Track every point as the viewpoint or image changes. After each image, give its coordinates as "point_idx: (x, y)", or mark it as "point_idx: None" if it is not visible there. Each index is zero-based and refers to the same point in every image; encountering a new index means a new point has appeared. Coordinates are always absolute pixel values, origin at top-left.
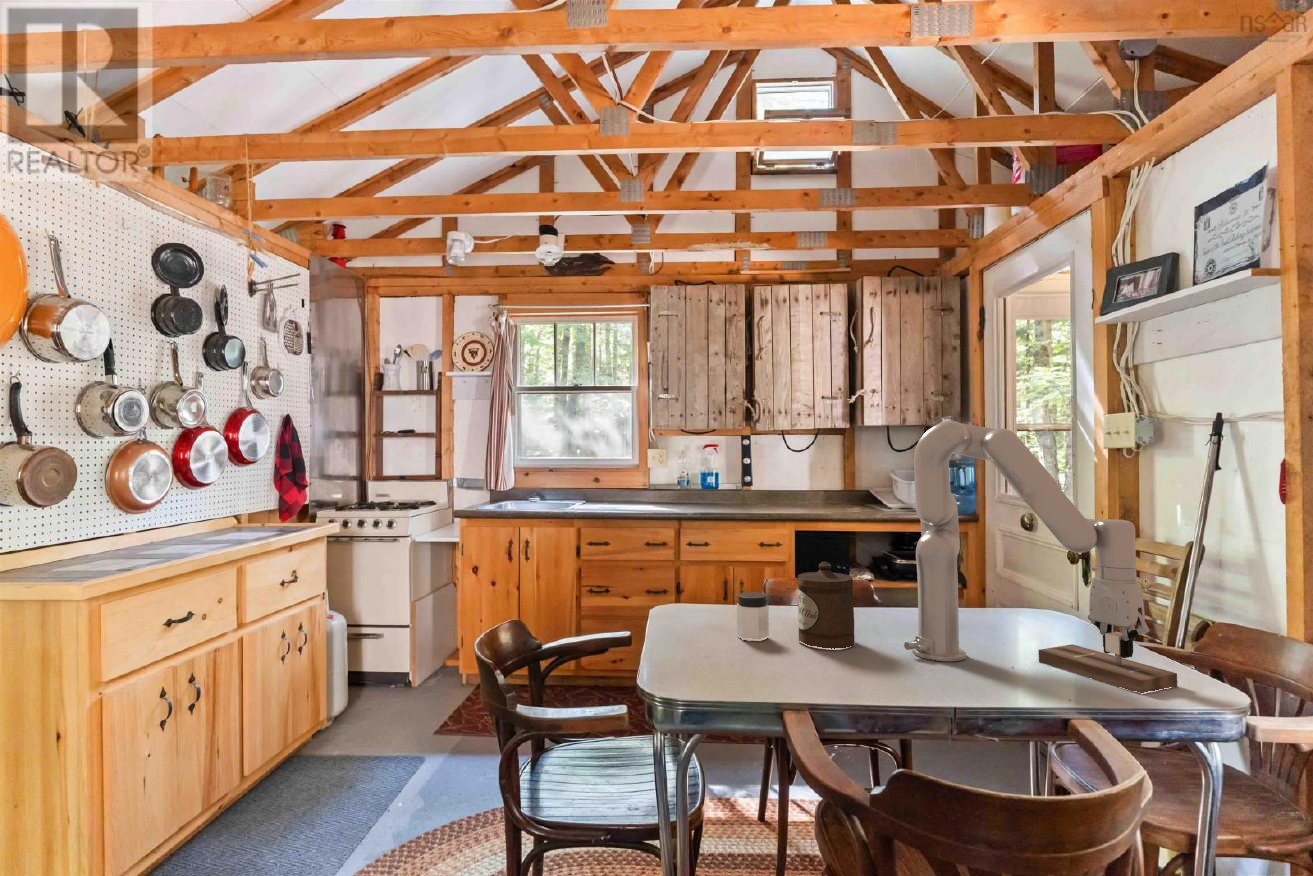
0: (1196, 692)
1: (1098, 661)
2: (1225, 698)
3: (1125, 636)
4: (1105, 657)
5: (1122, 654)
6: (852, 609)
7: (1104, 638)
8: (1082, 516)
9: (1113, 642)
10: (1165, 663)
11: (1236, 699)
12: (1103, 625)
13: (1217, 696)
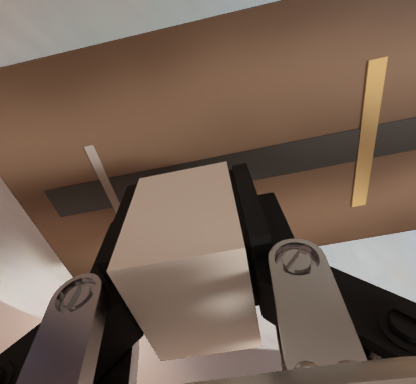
0: (52, 262)
1: (266, 129)
2: (9, 286)
3: (76, 312)
4: (301, 207)
5: (125, 192)
6: None
7: (256, 219)
8: None
9: (164, 216)
10: (271, 340)
11: (6, 300)
12: (311, 336)
13: (23, 281)
